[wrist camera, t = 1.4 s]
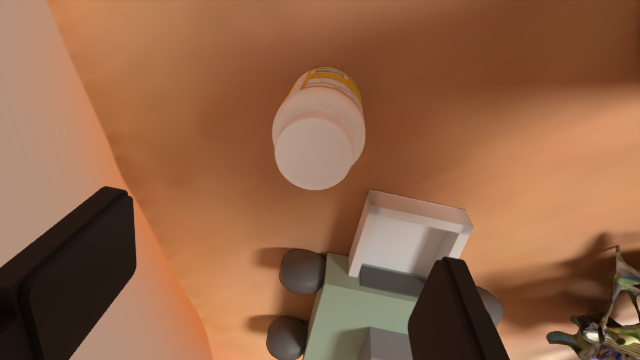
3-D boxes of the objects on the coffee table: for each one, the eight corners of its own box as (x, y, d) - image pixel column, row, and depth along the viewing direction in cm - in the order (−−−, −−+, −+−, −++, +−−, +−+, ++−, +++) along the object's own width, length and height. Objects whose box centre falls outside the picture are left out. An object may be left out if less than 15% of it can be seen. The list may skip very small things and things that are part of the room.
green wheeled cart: (532, 224, 30) (580, 285, 24) (451, 361, 38) (470, 432, 32) (299, 174, 29) (285, 222, 23) (270, 324, 38) (254, 389, 32)
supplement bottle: (315, 149, 28) (299, 218, 20) (275, 91, 26) (238, 140, 18) (376, 114, 26) (387, 173, 18) (337, 50, 25) (329, 81, 16)
